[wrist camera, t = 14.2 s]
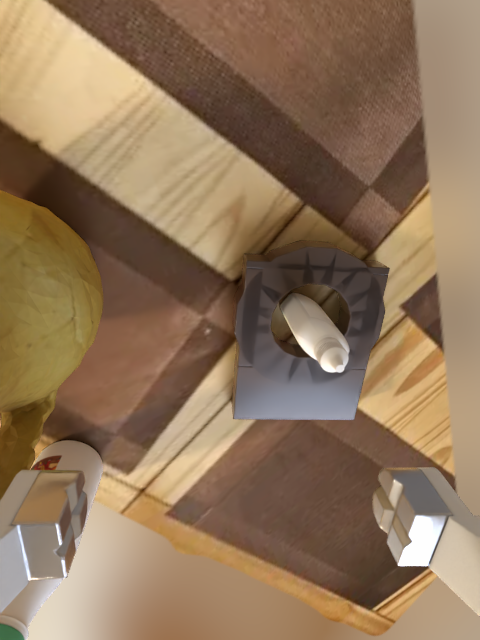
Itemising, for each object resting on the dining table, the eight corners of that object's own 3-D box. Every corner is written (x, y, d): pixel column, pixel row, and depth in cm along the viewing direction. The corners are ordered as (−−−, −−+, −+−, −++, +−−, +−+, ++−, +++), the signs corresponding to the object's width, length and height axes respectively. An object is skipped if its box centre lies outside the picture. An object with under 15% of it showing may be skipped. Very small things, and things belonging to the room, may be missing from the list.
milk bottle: (95, 433, 44) (18, 626, 26) (111, 481, 47) (52, 684, 29) (29, 443, 44) (-97, 644, 26) (49, 490, 47) (-50, 701, 29)
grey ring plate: (238, 236, 37) (241, 242, 34) (385, 245, 38) (399, 252, 35) (226, 403, 44) (228, 419, 41) (350, 404, 46) (359, 420, 43)
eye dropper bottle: (314, 281, 39) (357, 328, 28) (329, 326, 41) (374, 386, 30) (275, 297, 39) (303, 350, 28) (292, 341, 42) (324, 405, 31)
